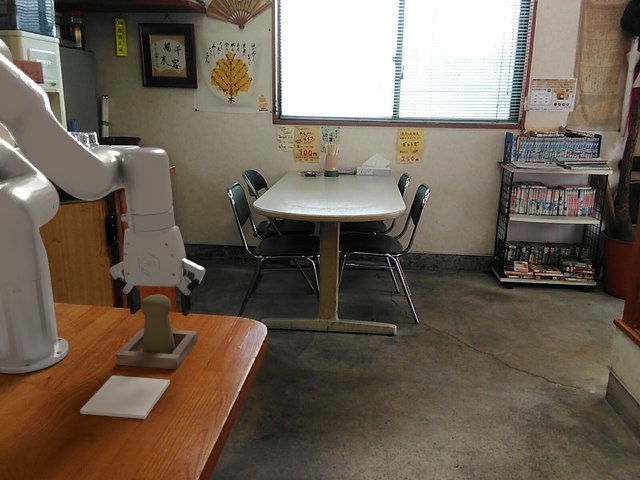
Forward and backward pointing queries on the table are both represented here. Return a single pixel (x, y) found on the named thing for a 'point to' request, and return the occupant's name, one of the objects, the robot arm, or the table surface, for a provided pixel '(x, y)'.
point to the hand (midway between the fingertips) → (161, 312)
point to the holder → (157, 360)
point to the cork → (157, 325)
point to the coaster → (126, 397)
